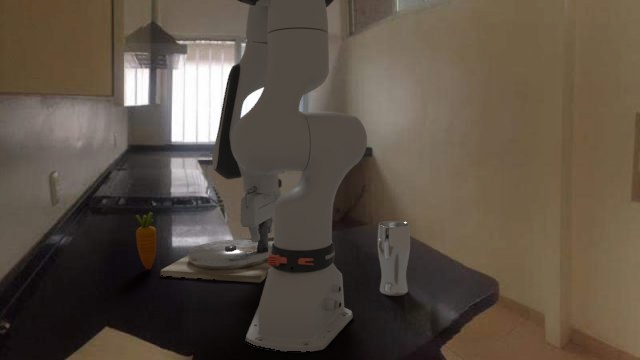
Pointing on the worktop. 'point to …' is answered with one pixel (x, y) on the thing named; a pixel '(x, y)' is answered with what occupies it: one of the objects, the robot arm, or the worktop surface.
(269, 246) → the dial
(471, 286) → the worktop surface
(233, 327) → the worktop surface
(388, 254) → the beer glass
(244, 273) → the dial base
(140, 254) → the carrot
